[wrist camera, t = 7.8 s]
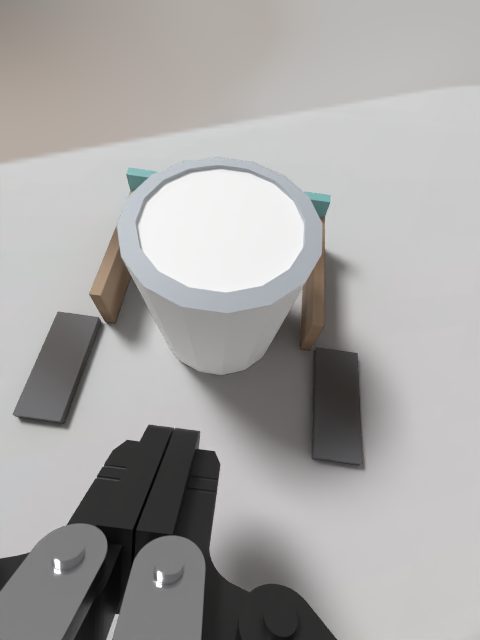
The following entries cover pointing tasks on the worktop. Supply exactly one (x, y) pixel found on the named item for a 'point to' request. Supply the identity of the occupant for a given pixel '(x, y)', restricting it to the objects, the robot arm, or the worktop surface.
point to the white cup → (219, 257)
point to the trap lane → (108, 293)
